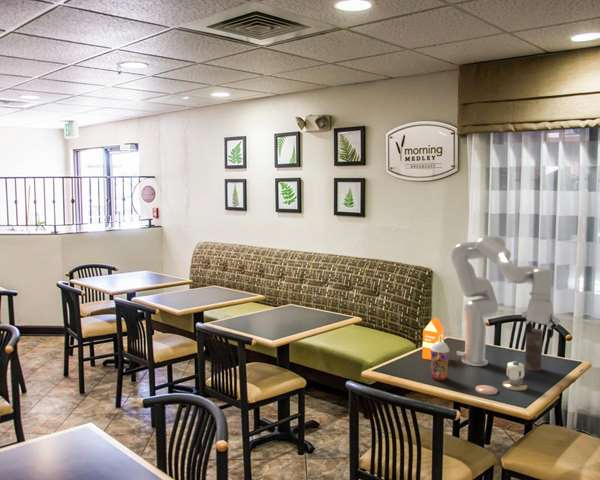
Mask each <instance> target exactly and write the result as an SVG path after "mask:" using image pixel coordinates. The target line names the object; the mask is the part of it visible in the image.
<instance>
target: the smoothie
mask: <svg viewBox="0 0 600 480" xmlns="http://www.w3.org/2000/svg"><path fill="white" fill-rule="evenodd" d="M450 351H451V350H450V348H449V346H448V345H447V343H446V342H444V341H443V342H442V341H441V335H440V341H437V342H435V343H434V344H433V345H432V347H431V360H430V372H431V377H432V379H433V380H435V381H445V380H446V378H447V376H448V367H449V360H450V359H449V358H450Z"/></svg>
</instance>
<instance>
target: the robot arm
mask: <svg viewBox="0 0 600 480" xmlns="http://www.w3.org/2000/svg"><path fill="white" fill-rule="evenodd" d="M511 255H512V254H511V250H509V249H508V248H506V244H505V241H504V239H502V237H500V236H498V235H497V236H496V235H491V236H483V237H480V238H478V240H477V241H466V242H460V243H458V244H456V245H455V246H454V247H453V248H452V250H451V255H450V256H451V257H450V258H451V261H452V264H453V267H454V269H455V272H456V274H457V278H458V281H459V285H460V288H461V291H462V295H464V297H466V298H476V299H471V300H470V301H467V302H466V303H465V305H464V315H465V316H464V317H465V337H464V338H465V343H464V351H461V350H460V351H459V350H457V351H456V355H457V357H461V361H460V362H461V363H463V364H465V365H467V366H473V367H485V366H487V365H488V364H489V360H487V359H486V342H487V337H486V336H487V326H486V323H485V321H484V319H486V318H491V317H494V316H496V315H497V314H498V313H499V312H498V311H499V304H498V301H497V298H496V294H495V291H494V287H493V285H492V283H491V281H490V280H489V279H488V278H486V277H484V276H478V277H477V275H476V272H475V268H474V267H473V265H472V264H471V263H470V261H468V260H474V259H475V260H477V259H483V258H487V259H488V260H490V261H491V262H493V263H494V264H495V265H497V269H498V272H499V273H500V274H501V275H502V276H503V277H504V278H506V279H507V280H509V281H510V282H511V283H514V284H519V285H520V284H521V285H522V284H529V283H532V287H531V288H532V291H530V292H529V296H531V298H529V299H528V300H529V301H528V305H527V309H526V311H523V312H521V317H522V320H523V321H524V324H526V325H525V326H526V327H525V334H526V333H531V332H532V328H533V323H535V324H541V325H546V327H547V331H546V338H547V339H551V338H553V336H554V329H555V328H556V327H558V325H559V324H560V322H561V321H560V319H559V318H558V317H557V316H555V315H554V308H553V307H554V306H553V301H552V298H551V297H552V279H553V272H552V270H551V269H549V268H545V267H538V266H537V265H536V266H535V265H521V266H518V265H516V264H514V263H513V262H511V261H510V258H511ZM553 322H554V323H553Z"/></svg>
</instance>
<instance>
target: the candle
mask: <svg viewBox="0 0 600 480" xmlns="http://www.w3.org/2000/svg"><path fill="white" fill-rule="evenodd" d="M524 352H525V353H524V354H525V355H524V368H525V369H527V370H528V371H531V372H539V371H541V370H542V363H543V362H542V357H543V355H542V353H543V329H541V328H534V327H532V332H531V333H526V332H525V351H524Z"/></svg>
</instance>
